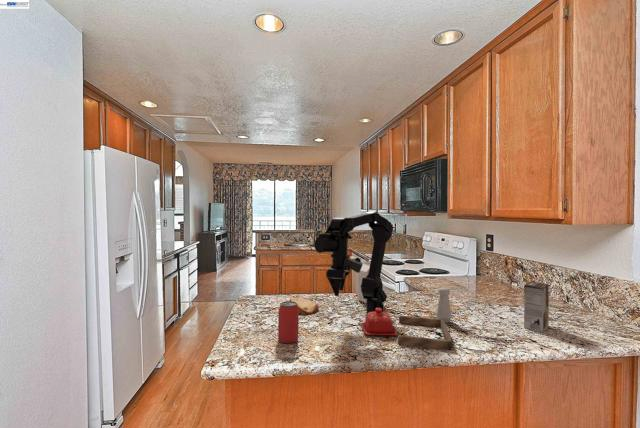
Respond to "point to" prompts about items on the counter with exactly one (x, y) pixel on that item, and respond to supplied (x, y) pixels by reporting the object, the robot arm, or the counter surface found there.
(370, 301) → the robot arm
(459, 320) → the counter surface
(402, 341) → the walnut bay
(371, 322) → the butter dish
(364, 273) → the milk carton
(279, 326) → the beer can
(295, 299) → the slice of bread
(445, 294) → the salt shaker
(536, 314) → the coffee box
